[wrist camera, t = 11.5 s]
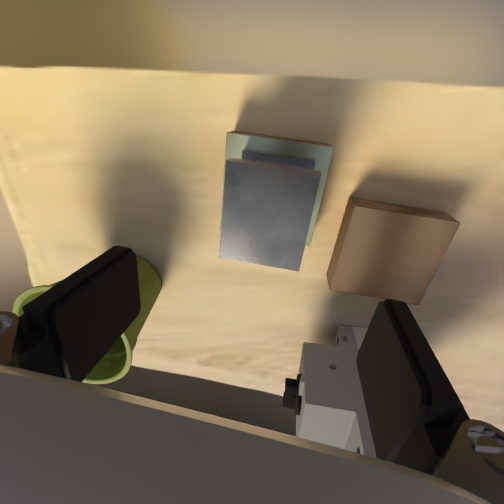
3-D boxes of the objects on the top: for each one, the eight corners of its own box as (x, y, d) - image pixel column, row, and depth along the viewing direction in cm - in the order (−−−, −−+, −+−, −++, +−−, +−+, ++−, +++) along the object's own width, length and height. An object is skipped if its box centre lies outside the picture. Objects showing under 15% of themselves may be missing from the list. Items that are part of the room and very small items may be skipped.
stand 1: (329, 144, 25) (333, 147, 22) (308, 233, 29) (309, 245, 26) (234, 130, 25) (226, 132, 23) (226, 220, 30) (219, 230, 27)
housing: (314, 158, 23) (321, 174, 16) (298, 234, 26) (298, 271, 20) (244, 148, 23) (225, 160, 17) (237, 224, 26) (218, 257, 20)
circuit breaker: (289, 318, 34) (284, 445, 21) (407, 333, 33) (482, 480, 19) (284, 360, 38) (277, 492, 25) (391, 375, 36) (445, 525, 23)
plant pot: (167, 234, 32) (108, 288, 22) (186, 315, 37) (145, 389, 27) (78, 235, 34) (-14, 286, 24) (108, 312, 39) (43, 379, 29)
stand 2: (443, 211, 26) (460, 222, 23) (407, 288, 30) (418, 305, 27) (349, 197, 27) (354, 206, 24) (326, 274, 31) (329, 289, 28)
